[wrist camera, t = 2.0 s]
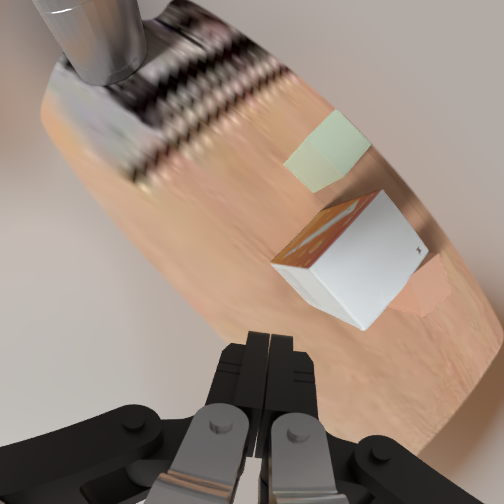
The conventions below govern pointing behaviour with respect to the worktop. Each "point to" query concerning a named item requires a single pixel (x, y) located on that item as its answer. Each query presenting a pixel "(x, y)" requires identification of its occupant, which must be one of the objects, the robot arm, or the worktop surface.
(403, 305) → the terracotta block
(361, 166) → the worktop surface
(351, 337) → the worktop surface
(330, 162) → the sage block
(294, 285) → the small box
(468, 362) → the worktop surface
